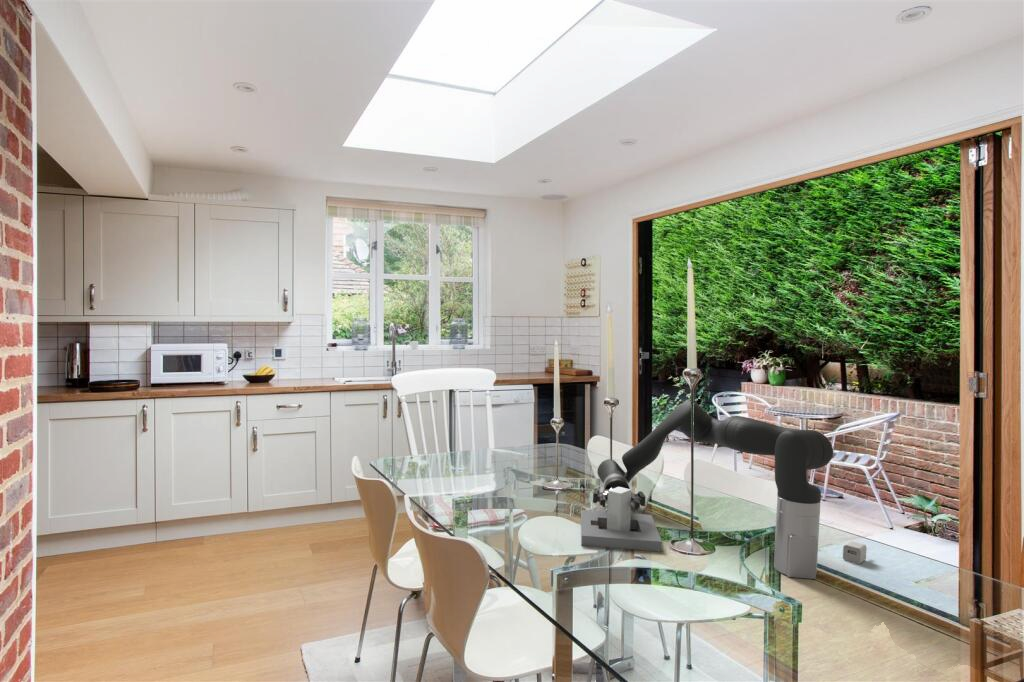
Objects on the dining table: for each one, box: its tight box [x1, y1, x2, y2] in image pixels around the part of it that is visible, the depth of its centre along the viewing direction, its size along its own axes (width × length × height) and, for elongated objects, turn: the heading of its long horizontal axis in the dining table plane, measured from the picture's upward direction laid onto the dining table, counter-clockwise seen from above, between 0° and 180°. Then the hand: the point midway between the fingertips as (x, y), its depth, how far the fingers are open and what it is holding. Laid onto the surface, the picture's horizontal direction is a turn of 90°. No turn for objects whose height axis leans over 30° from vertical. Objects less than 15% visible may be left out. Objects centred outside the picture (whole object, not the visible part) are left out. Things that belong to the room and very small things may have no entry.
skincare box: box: [606, 487, 632, 532], centre depth 166 cm, size 6×4×12 cm
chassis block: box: [580, 509, 663, 553], centre depth 166 cm, size 22×20×2 cm
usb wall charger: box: [842, 541, 867, 565], centre depth 154 cm, size 4×7×4 cm, turn 134°
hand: (620, 504), depth 164 cm, fingers open, 8 cm apart
